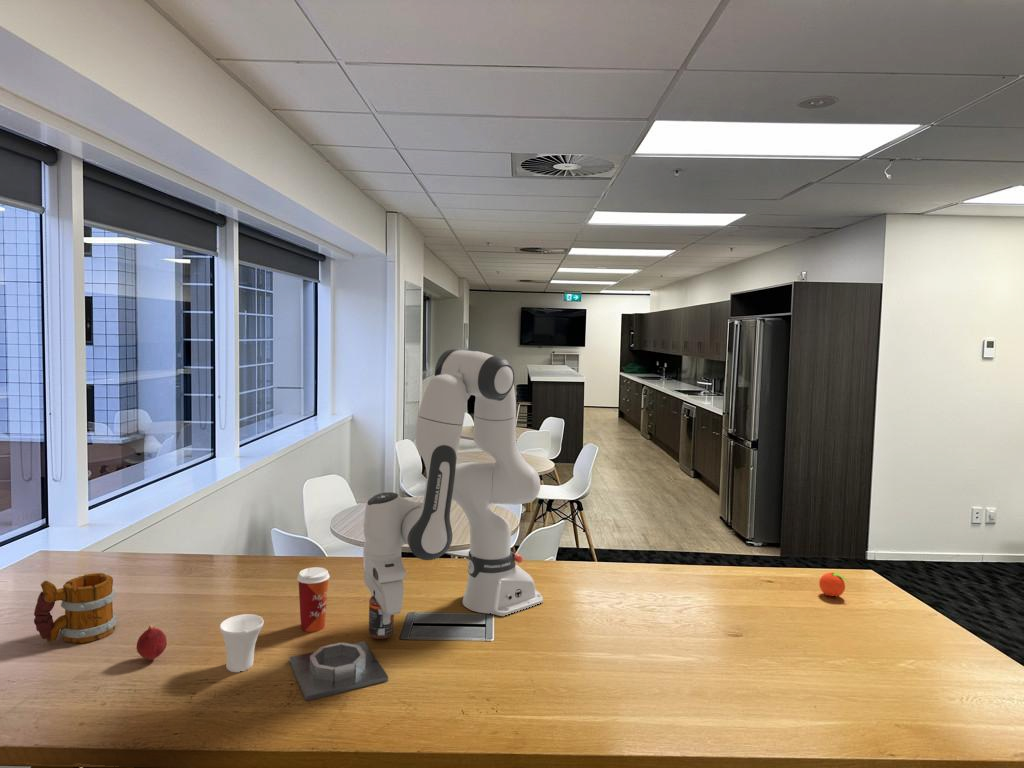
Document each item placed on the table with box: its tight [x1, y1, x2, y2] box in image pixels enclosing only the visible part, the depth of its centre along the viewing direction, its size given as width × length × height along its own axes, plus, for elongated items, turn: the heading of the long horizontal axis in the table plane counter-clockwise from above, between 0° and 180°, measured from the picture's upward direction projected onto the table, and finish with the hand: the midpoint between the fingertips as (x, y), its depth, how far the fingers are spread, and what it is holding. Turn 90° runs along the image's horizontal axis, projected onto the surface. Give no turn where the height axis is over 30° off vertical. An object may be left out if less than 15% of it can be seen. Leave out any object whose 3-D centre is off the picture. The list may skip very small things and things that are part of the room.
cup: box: [219, 613, 265, 673], centre depth 142 cm, size 9×9×10 cm
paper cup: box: [296, 566, 331, 633], centre depth 161 cm, size 8×8×14 cm
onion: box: [135, 624, 168, 661], centre depth 143 cm, size 6×6×8 cm
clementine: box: [818, 572, 850, 598], centre depth 192 cm, size 8×7×7 cm
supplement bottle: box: [368, 590, 395, 640], centre depth 156 cm, size 6×6×11 cm
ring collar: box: [288, 641, 389, 702], centre depth 141 cm, size 17×17×4 cm
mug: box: [33, 572, 118, 644], centre depth 151 cm, size 11×16×15 cm, turn 137°
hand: (381, 616), depth 156 cm, fingers closed on supplement bottle, 6 cm apart
